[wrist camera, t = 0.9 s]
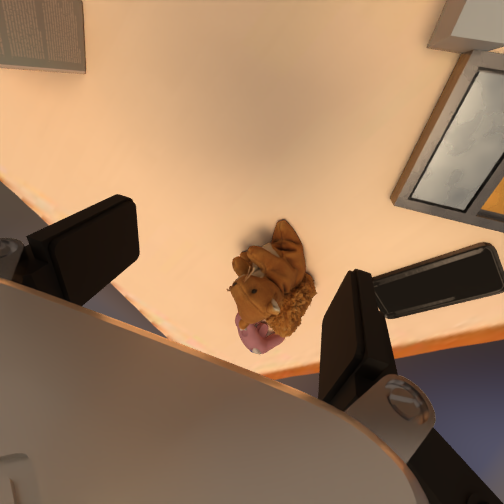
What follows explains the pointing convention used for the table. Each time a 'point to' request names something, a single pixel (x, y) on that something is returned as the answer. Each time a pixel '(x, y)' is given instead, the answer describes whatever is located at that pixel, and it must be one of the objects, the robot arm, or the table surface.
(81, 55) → the grey carton box
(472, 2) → the gray rectangular block
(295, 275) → the stuffed squirrel
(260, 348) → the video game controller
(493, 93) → the gray divided tray
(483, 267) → the phone
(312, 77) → the table surface
